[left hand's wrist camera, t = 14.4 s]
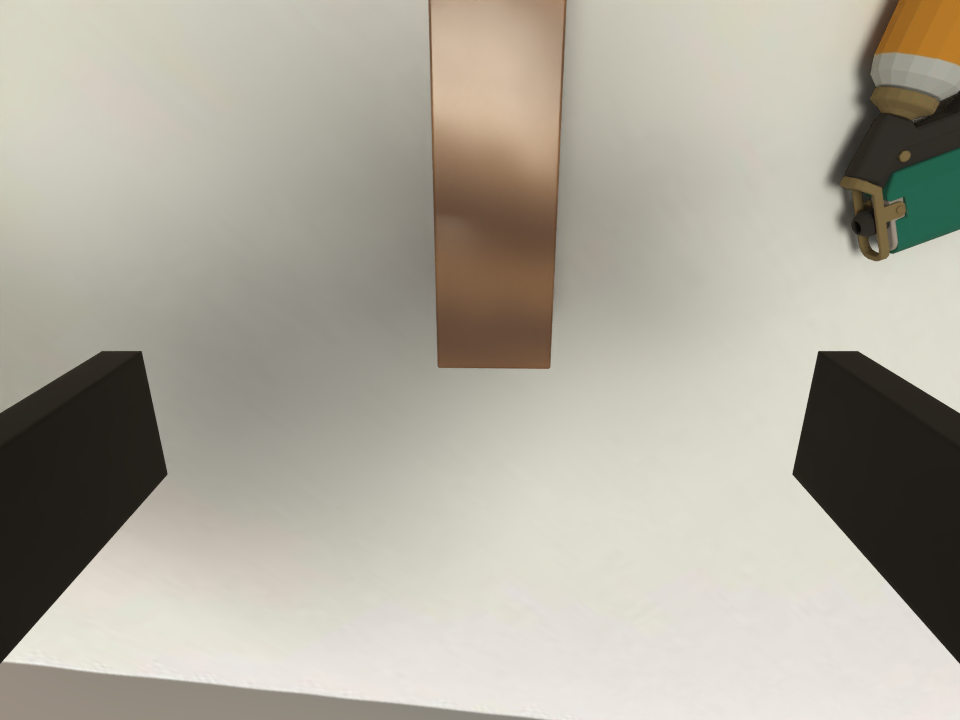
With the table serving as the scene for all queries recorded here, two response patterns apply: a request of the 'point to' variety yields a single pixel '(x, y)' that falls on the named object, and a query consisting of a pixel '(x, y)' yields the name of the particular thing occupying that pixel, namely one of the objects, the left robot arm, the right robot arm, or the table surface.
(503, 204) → the beam
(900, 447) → the left robot arm
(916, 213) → the spray gun
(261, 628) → the table surface
